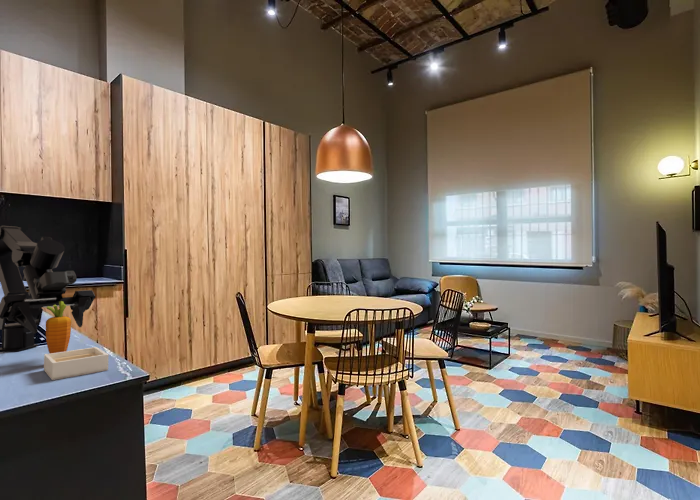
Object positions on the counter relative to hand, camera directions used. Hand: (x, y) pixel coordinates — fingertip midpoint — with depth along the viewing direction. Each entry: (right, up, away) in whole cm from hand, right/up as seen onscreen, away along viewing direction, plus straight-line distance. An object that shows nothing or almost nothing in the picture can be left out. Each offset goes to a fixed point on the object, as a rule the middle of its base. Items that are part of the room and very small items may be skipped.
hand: (59, 329), depth 91 cm
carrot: (-1, -9, 0) cm, 9 cm away
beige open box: (+8, -8, -5) cm, 13 cm away
